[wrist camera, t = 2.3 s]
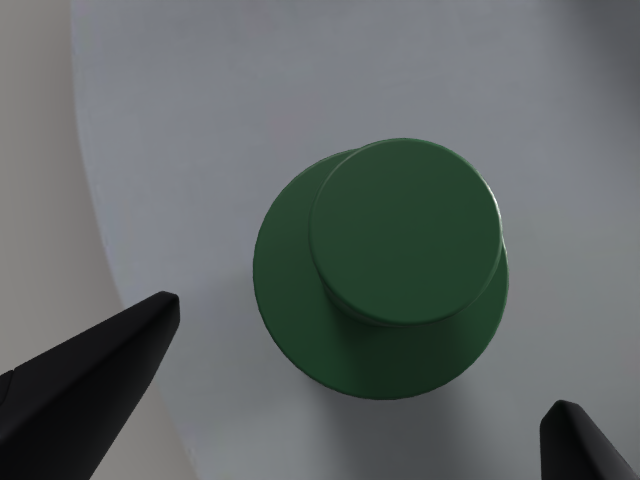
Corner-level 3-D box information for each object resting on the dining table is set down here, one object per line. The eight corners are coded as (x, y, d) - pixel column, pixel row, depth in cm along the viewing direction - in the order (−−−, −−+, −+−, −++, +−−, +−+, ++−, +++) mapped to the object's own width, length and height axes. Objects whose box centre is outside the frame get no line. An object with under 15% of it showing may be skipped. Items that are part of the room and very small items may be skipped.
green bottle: (394, 385, 19) (537, 541, 5) (273, 327, 20) (121, 332, 6) (444, 263, 20) (677, 126, 6) (327, 211, 21) (305, -12, 7)
